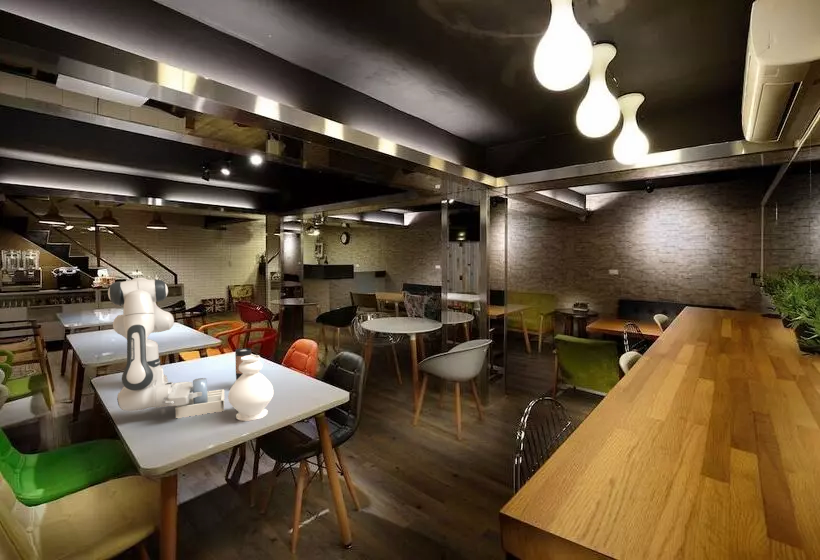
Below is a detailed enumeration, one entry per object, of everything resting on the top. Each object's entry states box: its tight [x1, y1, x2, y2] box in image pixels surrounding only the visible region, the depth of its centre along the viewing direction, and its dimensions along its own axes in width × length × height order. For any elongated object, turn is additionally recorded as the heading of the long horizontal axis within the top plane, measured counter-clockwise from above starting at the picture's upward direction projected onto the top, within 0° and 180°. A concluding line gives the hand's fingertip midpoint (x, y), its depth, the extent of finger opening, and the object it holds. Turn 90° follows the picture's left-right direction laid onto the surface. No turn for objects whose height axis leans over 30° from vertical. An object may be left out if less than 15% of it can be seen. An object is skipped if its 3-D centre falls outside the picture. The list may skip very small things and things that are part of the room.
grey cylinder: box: [192, 377, 208, 404], centre depth 165 cm, size 6×6×11 cm
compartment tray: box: [174, 388, 225, 419], centre depth 169 cm, size 16×18×5 cm
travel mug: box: [234, 347, 252, 381], centre depth 195 cm, size 8×8×20 cm
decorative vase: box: [228, 354, 275, 422], centre depth 161 cm, size 18×18×25 cm
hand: (202, 390), depth 166 cm, fingers closed on grey cylinder, 5 cm apart
